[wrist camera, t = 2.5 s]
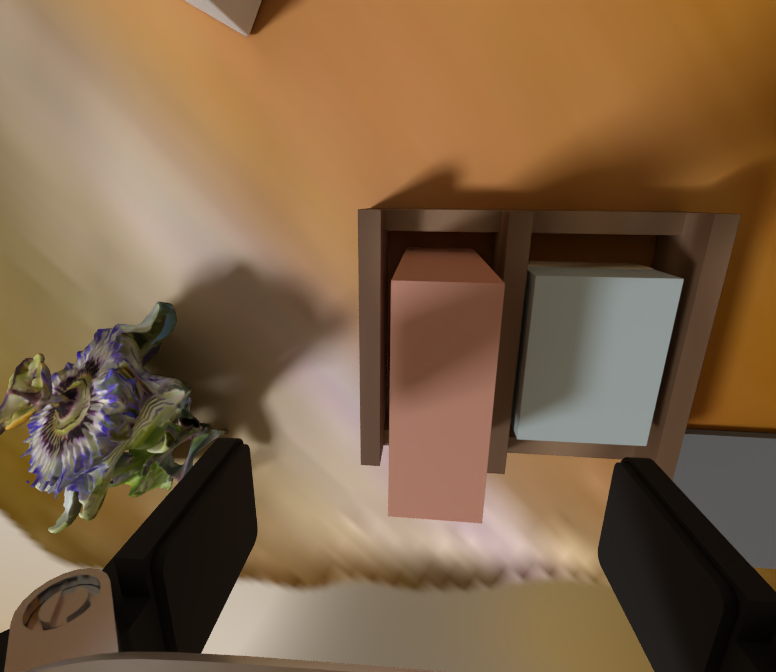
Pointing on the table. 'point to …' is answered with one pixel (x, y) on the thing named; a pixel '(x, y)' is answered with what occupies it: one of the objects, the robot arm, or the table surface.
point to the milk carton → (231, 12)
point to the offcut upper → (592, 353)
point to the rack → (510, 262)
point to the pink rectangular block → (442, 382)
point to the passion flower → (105, 418)
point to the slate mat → (733, 487)
